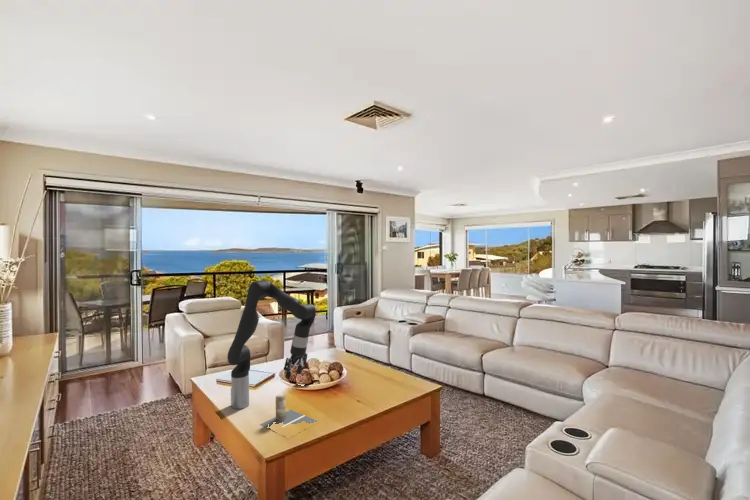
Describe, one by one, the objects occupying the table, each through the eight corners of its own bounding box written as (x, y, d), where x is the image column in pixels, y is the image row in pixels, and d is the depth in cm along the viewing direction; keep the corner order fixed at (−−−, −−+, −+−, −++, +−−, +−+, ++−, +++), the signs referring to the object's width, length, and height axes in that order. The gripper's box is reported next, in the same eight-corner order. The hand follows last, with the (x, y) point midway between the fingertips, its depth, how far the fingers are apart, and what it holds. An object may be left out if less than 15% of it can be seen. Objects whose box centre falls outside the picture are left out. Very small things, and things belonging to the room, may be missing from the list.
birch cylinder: (273, 419, 192) (273, 396, 192) (281, 415, 196) (281, 393, 196) (280, 422, 189) (279, 399, 189) (287, 418, 193) (287, 395, 193)
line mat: (259, 425, 187) (259, 424, 187) (290, 410, 203) (290, 409, 203) (288, 440, 174) (288, 438, 174) (319, 422, 190) (319, 421, 190)
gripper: (302, 339, 191) (296, 369, 192) (284, 344, 178) (277, 377, 179) (314, 344, 188) (308, 375, 188) (296, 349, 175) (289, 382, 176)
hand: (293, 376), depth 184 cm, fingers open, 8 cm apart
